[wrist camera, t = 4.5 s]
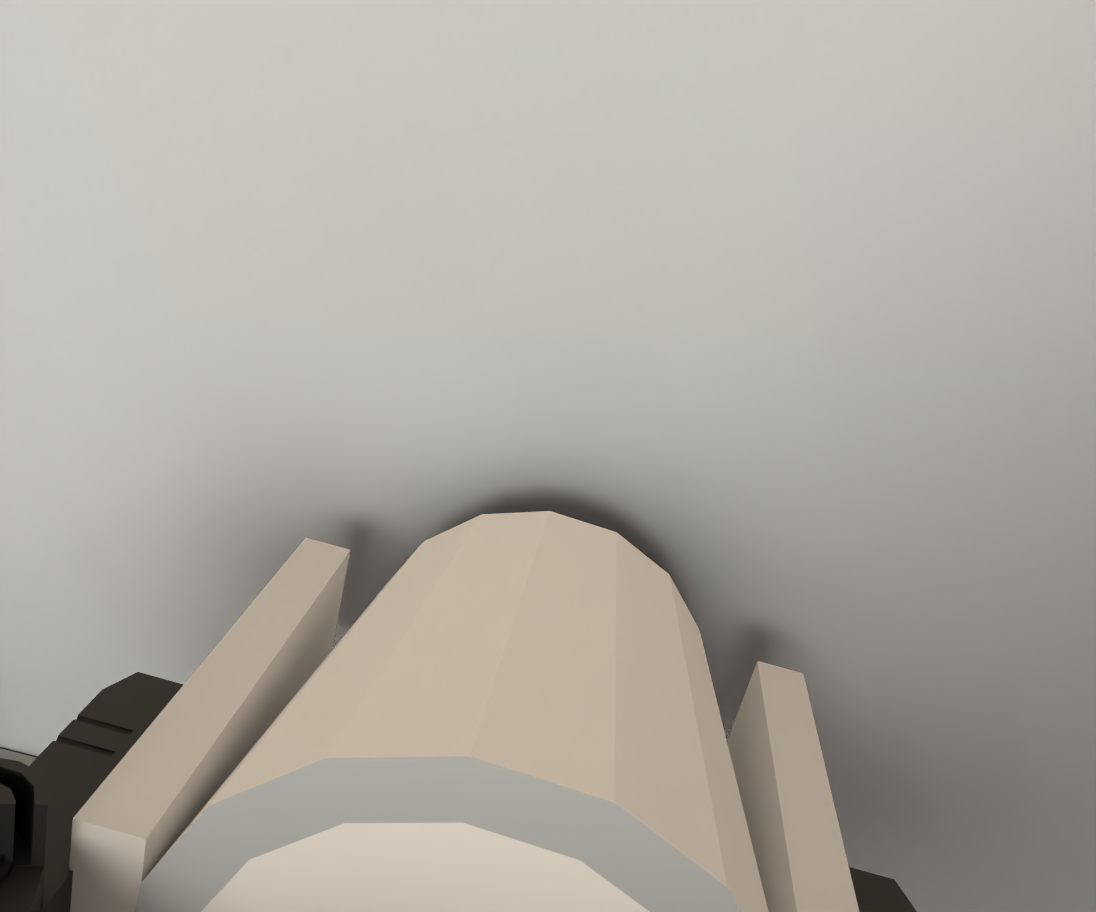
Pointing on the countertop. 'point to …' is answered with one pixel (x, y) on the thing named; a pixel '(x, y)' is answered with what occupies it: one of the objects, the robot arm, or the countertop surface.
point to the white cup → (488, 749)
